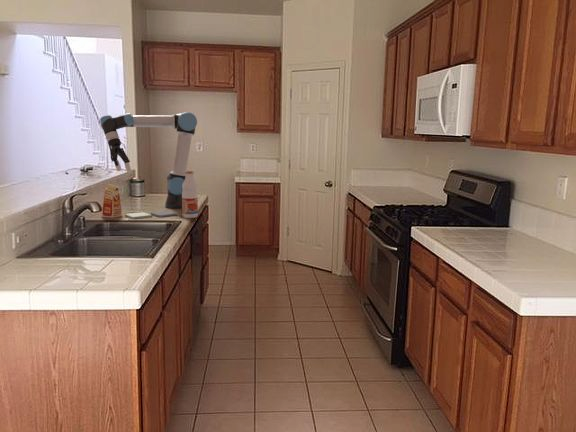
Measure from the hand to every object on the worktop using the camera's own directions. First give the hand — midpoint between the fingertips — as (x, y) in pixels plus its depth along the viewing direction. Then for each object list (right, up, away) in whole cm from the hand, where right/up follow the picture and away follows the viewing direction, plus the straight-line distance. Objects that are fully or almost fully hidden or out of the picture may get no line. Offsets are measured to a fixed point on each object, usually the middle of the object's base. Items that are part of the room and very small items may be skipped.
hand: (124, 171), depth 302 cm
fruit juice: (+41, -28, -3) cm, 50 cm away
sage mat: (+10, -28, -5) cm, 30 cm away
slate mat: (+24, -27, +2) cm, 36 cm away
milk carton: (-6, -28, -5) cm, 29 cm away
